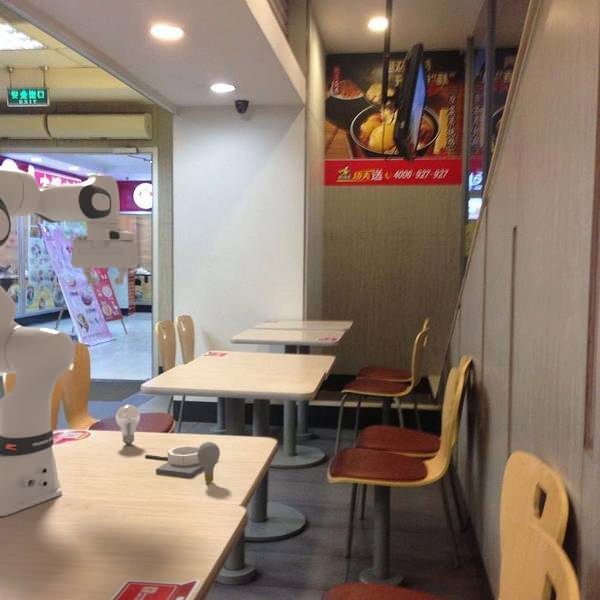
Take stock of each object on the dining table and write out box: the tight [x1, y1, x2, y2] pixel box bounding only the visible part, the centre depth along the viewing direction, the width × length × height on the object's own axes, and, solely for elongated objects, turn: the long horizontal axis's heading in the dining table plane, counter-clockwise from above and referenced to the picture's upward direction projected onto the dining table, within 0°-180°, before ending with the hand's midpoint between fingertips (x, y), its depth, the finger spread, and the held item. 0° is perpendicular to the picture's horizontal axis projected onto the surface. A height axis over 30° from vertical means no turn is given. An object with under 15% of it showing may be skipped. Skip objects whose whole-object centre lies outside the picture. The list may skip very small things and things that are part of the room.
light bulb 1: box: [115, 404, 141, 446], centre depth 184 cm, size 7×7×12 cm
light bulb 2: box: [197, 441, 221, 484], centre depth 152 cm, size 6×6×10 cm
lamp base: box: [144, 445, 204, 479], centre depth 166 cm, size 15×20×4 cm
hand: (104, 284), depth 173 cm, fingers open, 8 cm apart
